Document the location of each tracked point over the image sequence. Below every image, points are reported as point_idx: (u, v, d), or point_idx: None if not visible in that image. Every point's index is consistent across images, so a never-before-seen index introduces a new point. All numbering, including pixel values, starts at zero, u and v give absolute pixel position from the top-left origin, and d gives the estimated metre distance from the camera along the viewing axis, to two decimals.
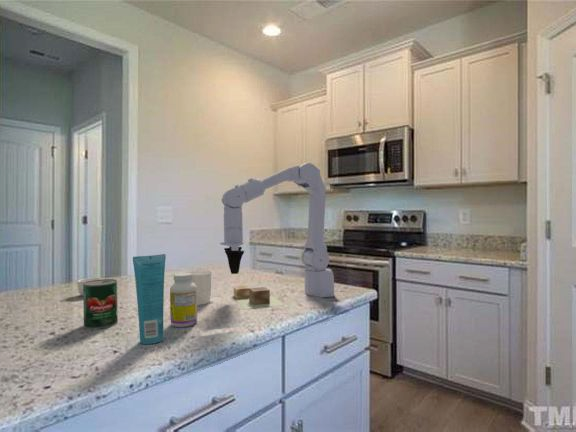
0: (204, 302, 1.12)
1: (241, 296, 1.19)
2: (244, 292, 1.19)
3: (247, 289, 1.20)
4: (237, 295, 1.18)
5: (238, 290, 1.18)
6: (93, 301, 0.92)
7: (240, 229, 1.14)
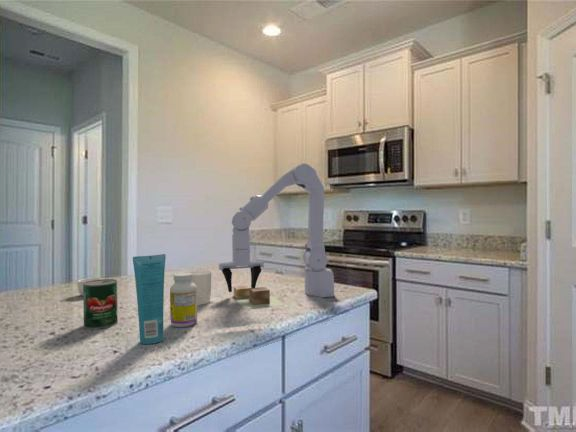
0: (204, 302, 1.12)
1: (241, 296, 1.19)
2: (244, 292, 1.19)
3: (247, 289, 1.20)
4: (237, 295, 1.18)
5: (238, 290, 1.18)
6: (93, 301, 0.92)
7: (237, 251, 1.18)
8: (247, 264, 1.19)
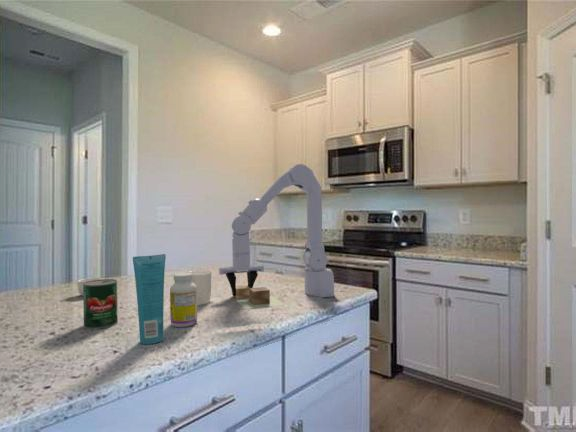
0: (204, 302, 1.12)
1: (241, 296, 1.19)
2: (244, 292, 1.19)
3: (247, 289, 1.20)
4: (237, 295, 1.18)
5: (238, 290, 1.18)
6: (93, 301, 0.92)
7: (237, 255, 1.18)
8: (247, 268, 1.19)
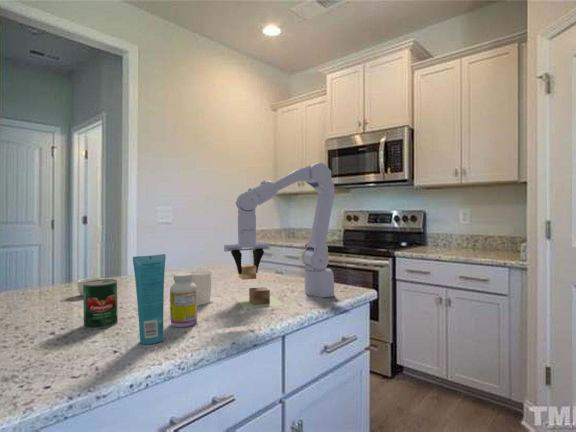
0: (204, 302, 1.12)
1: (247, 274, 1.16)
2: (250, 270, 1.16)
3: (253, 267, 1.17)
4: (243, 273, 1.16)
5: (244, 267, 1.16)
6: (93, 301, 0.92)
7: (242, 232, 1.15)
8: (253, 246, 1.16)
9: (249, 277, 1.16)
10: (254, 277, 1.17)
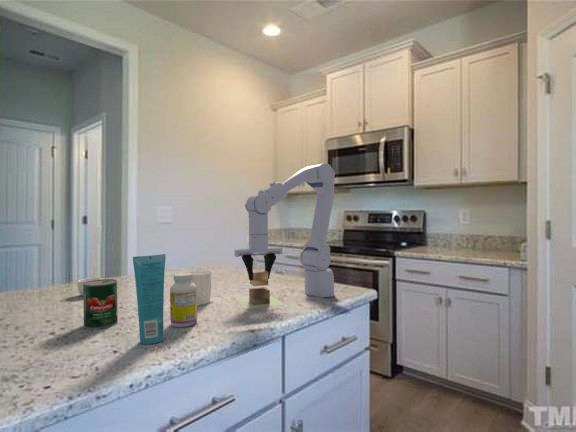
0: (204, 302, 1.12)
1: (258, 280, 1.11)
2: (262, 276, 1.11)
3: (265, 273, 1.11)
4: (254, 279, 1.10)
5: (255, 274, 1.10)
6: (93, 301, 0.92)
7: (254, 236, 1.10)
8: (265, 250, 1.10)
9: (261, 283, 1.11)
10: (266, 283, 1.11)
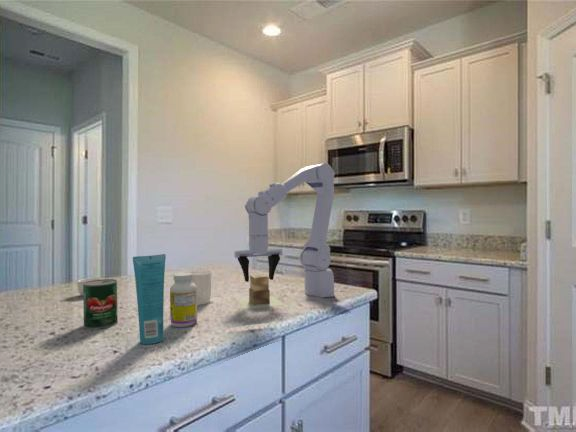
0: (204, 302, 1.12)
1: (259, 285, 1.11)
2: (262, 281, 1.11)
3: (265, 277, 1.11)
4: (255, 284, 1.10)
5: (256, 278, 1.10)
6: (93, 301, 0.92)
7: (254, 237, 1.10)
8: (265, 252, 1.10)
9: (261, 288, 1.11)
10: (266, 288, 1.11)
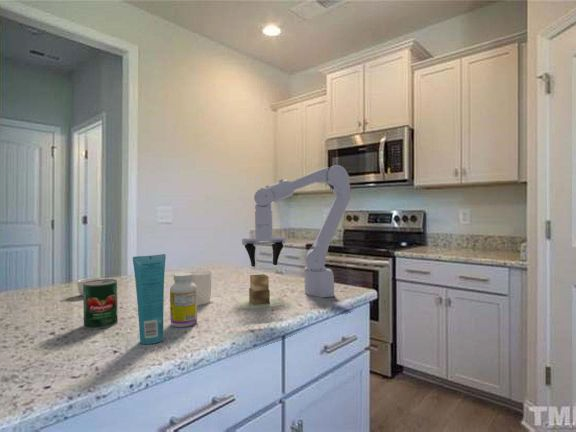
0: (204, 302, 1.12)
1: (259, 285, 1.11)
2: (262, 281, 1.11)
3: (265, 277, 1.11)
4: (255, 284, 1.10)
5: (256, 278, 1.10)
6: (93, 301, 0.92)
7: (260, 226, 1.22)
8: (270, 239, 1.22)
9: (261, 288, 1.11)
10: (266, 288, 1.11)
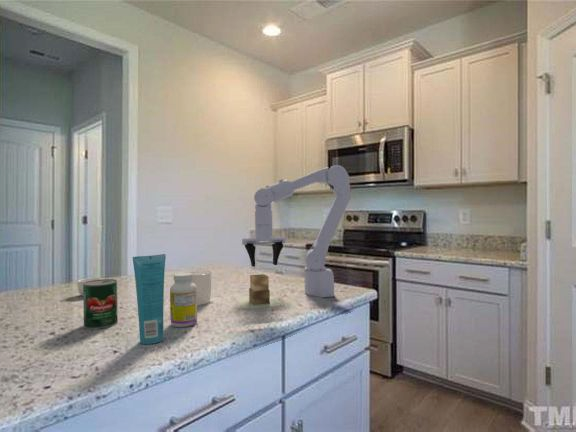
0: (204, 302, 1.12)
1: (259, 285, 1.11)
2: (262, 281, 1.11)
3: (265, 277, 1.11)
4: (255, 284, 1.10)
5: (256, 278, 1.10)
6: (93, 301, 0.92)
7: (260, 226, 1.22)
8: (270, 239, 1.23)
9: (261, 288, 1.11)
10: (266, 288, 1.11)
